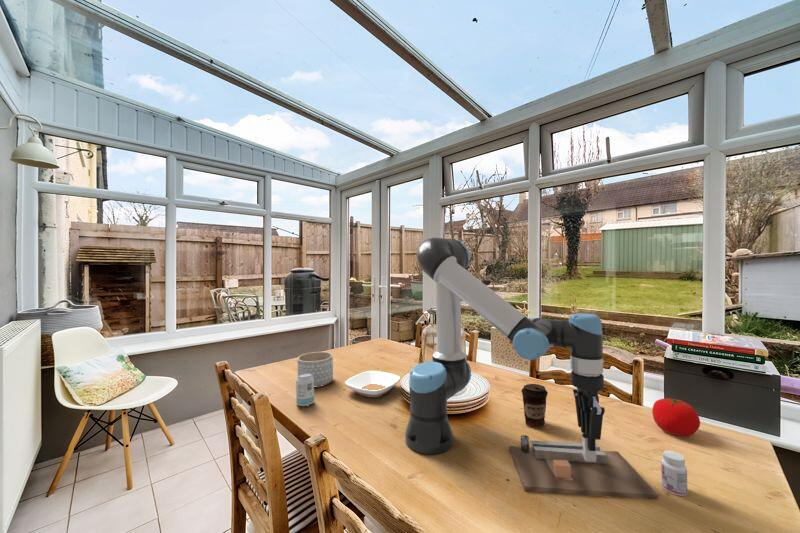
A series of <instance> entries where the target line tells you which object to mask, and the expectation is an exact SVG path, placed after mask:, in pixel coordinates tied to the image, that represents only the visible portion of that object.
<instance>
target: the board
mask: <svg viewBox="0 0 800 533" xmlns="http://www.w3.org/2000/svg"><path fill="white" fill-rule="evenodd" d="M508 449H509V454H510V455H511V459H512V460H513V463H514V466H515V470H516V472H517V475H518V477H519V480H520V483H521V486H522V488H523V490H524V491H523V492H534V493H548V494H549V493H550V494H562V495H563V494H565V495H577V494H578V495H579V496H591V495H592V496H595V497H606V496H610V497H609V498H620V499H621V498H622V499H623V498H626V499H637V500H638V499H639V500H641V499H642V500H650V501H651V500H653V501H654V500H655V501H659V498H660V497H659V493H657V492H656V491H655V489H654V488H653V487H652V486H651V485H650V484H649V482H647V481H646V480H645V479H644V478H643V477H642V476H641V475H640V473H638V472H637V470H635V468H634V467H633V466H632V465H631V464H630V463H629V462H628V461H627V460H626V458H624V457H623V456H622V454H620V452H619V451H616V450H615V451H613V450H612V451H611V450H602V451H603V452H604V453H605V454H606V460H607V464H597V463H585V462H572V461H568V462H569V464H570V465H571V478H562V477H556V476H555V474H554V472H553V460H548V459H535V456H534V452H533V451H532V449H531V446H529V453H524V452H522V451H521V446H516V445H515V446H511V445H509V446H508ZM578 495H577V496H578Z"/></svg>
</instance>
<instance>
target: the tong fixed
mask: <svg viewBox="0 0 800 533" xmlns="http://www.w3.org/2000/svg"><path fill="white" fill-rule="evenodd" d="M529 441H530V442H529ZM530 443H531V444H530ZM534 446H538V447H551V448H565V449H578V450H583V442H574V441H573V442H571V441H548V440H530V438H529V436H528V435H526V434H521V435H520V447H521V451H522V452H524V453H529V447H531V449H532V451H533V452H534ZM596 451H601V446H599V444H598V443H596Z"/></svg>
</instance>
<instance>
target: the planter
mask: <svg viewBox="0 0 800 533" xmlns="http://www.w3.org/2000/svg"><path fill="white" fill-rule="evenodd" d="M333 358H334V357H333V353H331V352H328V351H313V352H307V353H304V354H303V353H302V354H301V355H299V356H297V359H296V360H297V361H296V362H297V366H296V367H297V376H298V375H299V374H301V373H311V374H312V376H313V378H314V386H321V385H325V384H327V383H328V384H329V383H331V382H332V381H333V380H334V361H333V360H334V359H333ZM328 384H327V385H328ZM325 386H326V385H325Z"/></svg>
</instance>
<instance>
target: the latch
mask: <svg viewBox="0 0 800 533" xmlns="http://www.w3.org/2000/svg"><path fill="white" fill-rule="evenodd" d="M553 472H554V474H555V476H556V477H562V478H571V465H570V464H569V462H568V461H567V460H553Z"/></svg>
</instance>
